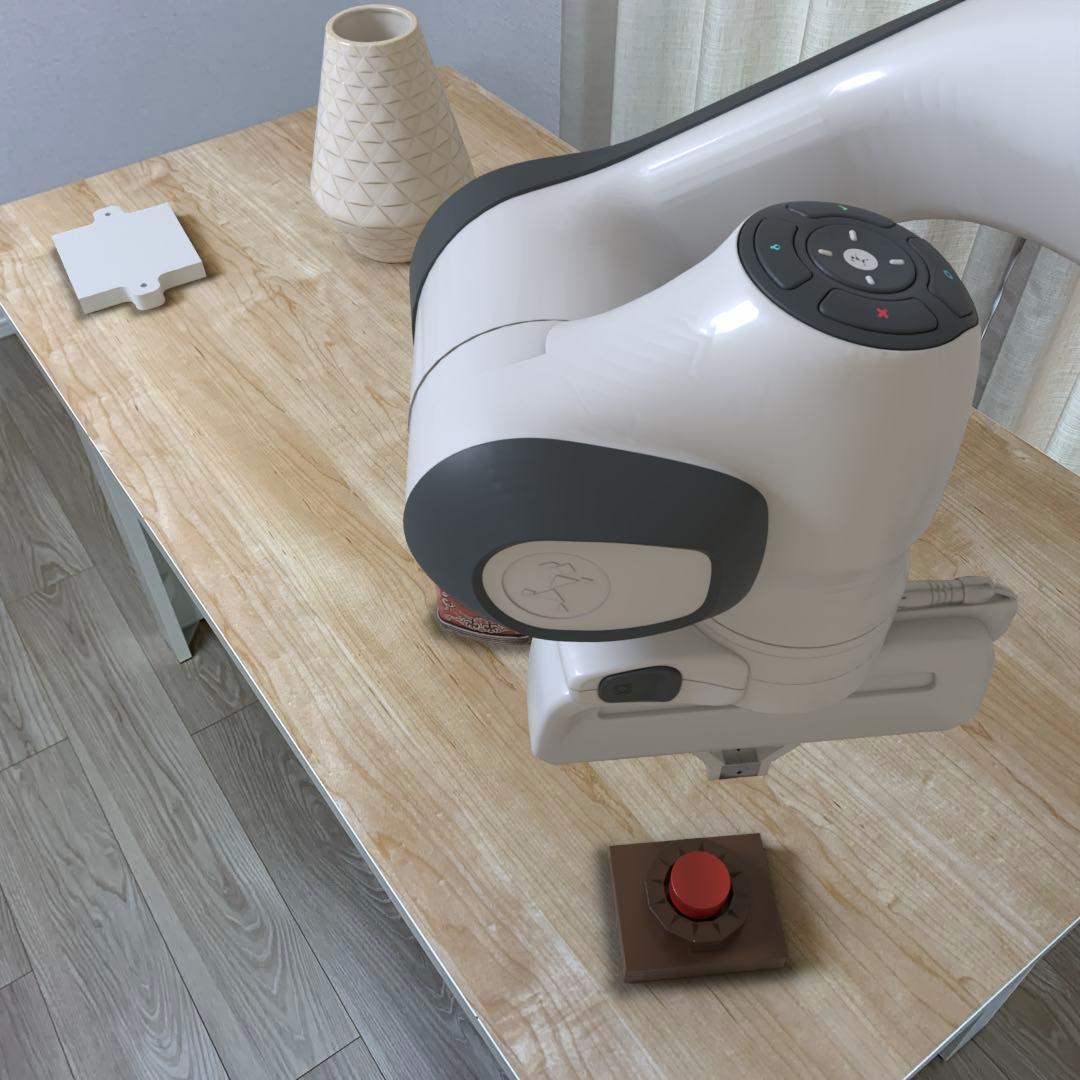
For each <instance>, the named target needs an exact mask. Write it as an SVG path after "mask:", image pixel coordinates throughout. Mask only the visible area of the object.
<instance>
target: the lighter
mask: <svg viewBox="0 0 1080 1080" xmlns="http://www.w3.org/2000/svg"><path fill="white" fill-rule="evenodd" d="M434 585H435V592H436V598H437V606H438V607H437V611H436V614H437V620H438V624H439V625H440V627H441V628H442V629H444V630H446V631H449V632H450V633H451V632H452V633H453V634H456V635H459V636H462V637H466V638H468V639H474V640H477V641H481V642H486V643H487V642H488V643H493V644H494V643H495V644H503V645H527V644H529V643H532V638H533V637H530V636H526V635H524V634H521V633H518V632H515V631H512V630H510V629H507V628H505V627H502V626H500V625H497V624H495V623H493V622H490V621H488V620H486V619H484V618H482V617H480V616H478V615H477V614H475V613H473V612H471V611H470V610H468V609H467V608H465V607H464V606H462V605H461V604H459V603H458V602H456V601H455V600H453V599H452V598H451V597H450V596H448V595H447V594H446V593H445V592H443V591H442V590H441V589H440V588H439V587H438V586H437V585H436V584H435V583H434Z"/></svg>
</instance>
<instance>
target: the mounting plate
mask: <svg viewBox="0 0 1080 1080" xmlns="http://www.w3.org/2000/svg"><path fill="white" fill-rule="evenodd" d="M92 216H93V219H94V220H93V222H92V223H90V224H87V225H83V226H79V227H77V228H72V229H70V230H66V231H62V232H59V233H56V234H51V235H50V237H51V239H52V241H53V244H54V246H55V248H56V251H57V253H58V255H59V258H60V260H61V263H62V265H63V267H64V270H65V272H66V274H67V276H68V278H69V281H70V284H71V285H72V288H73V290H74V292H75V295H76V297H77V299H78V301H79V304H80V307H81V308H82V311H83V314H84V315H88V314H91V313H95V312H97V311H98V312H99V311H100V310H104V309H107V308H110V307H114V306H116V305H120V304H124V303H133V304H134V306H135V308H136V309H138V310H139V311H149V310H153V309H155V308H159V307H161V306H163V305H164V304H165V303H166V298H165V295H164V294H165V291H167V290H169V289H171V288H175V287H178V286H181V285H185V284H188V283H191V282H195V281H197V280H201V279H205V278H207V273H206V270H205V267H204V264H203V263H204V262H203V261H202V258H201V257H200V256H199V254H198V252H197V251H196V249H195V247H194V245H193V244H192V242H191V240H190V238H189V236H188V235H187V233H186V232H185V230H184V228H183V226H182V224H181V223H180V221H179V219H178V218H177V216H176V214H175V213H174V211H173V209H172V208H171V206H170V204H169V202H164V203H161V204H157V205H154V206H150V207H147V208H143V209H139V210H135V211H133V212H124V211H123V210H122V209H121V207H120V206H117V205H110V206H109V205H108V206H105V207H101V208H98V209H97V210H95V211H94V212H93V214H92Z"/></svg>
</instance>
